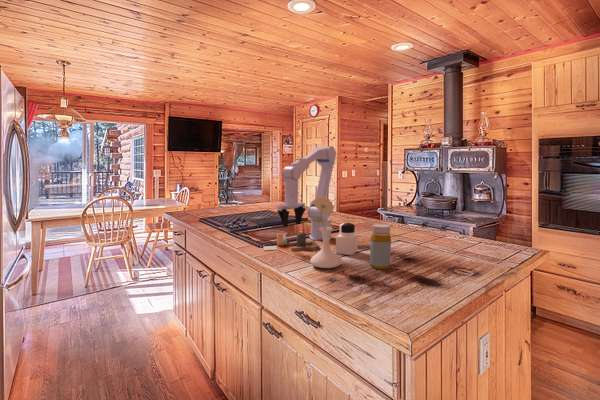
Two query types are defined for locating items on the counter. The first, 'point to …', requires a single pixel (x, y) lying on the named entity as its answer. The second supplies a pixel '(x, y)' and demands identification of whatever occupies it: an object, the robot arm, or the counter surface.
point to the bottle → (380, 246)
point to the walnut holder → (314, 247)
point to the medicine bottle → (347, 239)
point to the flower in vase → (325, 237)
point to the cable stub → (301, 239)
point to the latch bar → (281, 239)
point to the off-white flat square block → (269, 248)
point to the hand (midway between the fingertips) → (291, 225)
